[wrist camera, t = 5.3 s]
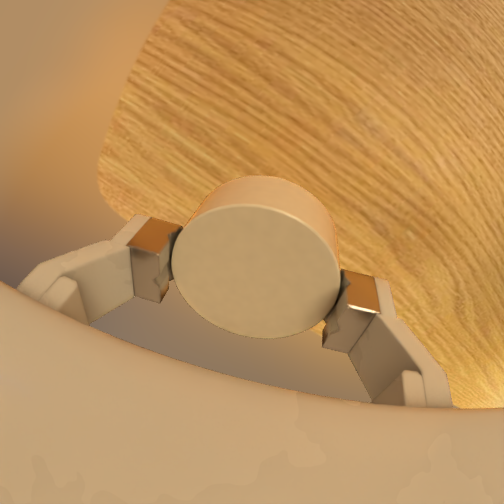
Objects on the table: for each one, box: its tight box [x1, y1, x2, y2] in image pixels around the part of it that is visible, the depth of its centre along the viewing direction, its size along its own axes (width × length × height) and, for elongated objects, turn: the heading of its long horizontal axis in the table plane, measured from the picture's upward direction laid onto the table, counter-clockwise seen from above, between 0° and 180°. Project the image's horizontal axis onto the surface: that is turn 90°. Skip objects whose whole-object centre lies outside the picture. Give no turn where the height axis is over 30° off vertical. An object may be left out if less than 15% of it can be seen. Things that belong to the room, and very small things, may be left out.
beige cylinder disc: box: [171, 175, 341, 339], centre depth 10 cm, size 5×5×3 cm
